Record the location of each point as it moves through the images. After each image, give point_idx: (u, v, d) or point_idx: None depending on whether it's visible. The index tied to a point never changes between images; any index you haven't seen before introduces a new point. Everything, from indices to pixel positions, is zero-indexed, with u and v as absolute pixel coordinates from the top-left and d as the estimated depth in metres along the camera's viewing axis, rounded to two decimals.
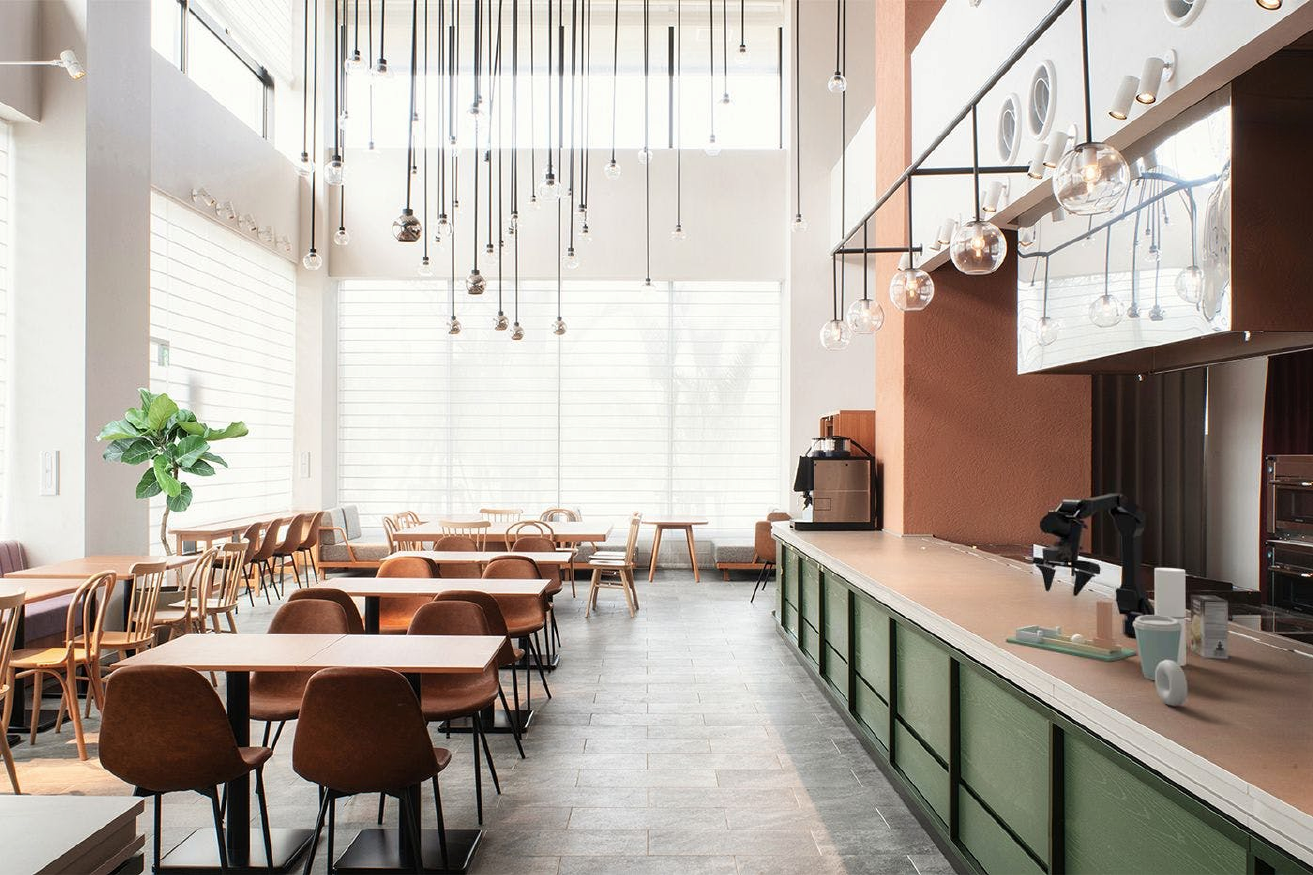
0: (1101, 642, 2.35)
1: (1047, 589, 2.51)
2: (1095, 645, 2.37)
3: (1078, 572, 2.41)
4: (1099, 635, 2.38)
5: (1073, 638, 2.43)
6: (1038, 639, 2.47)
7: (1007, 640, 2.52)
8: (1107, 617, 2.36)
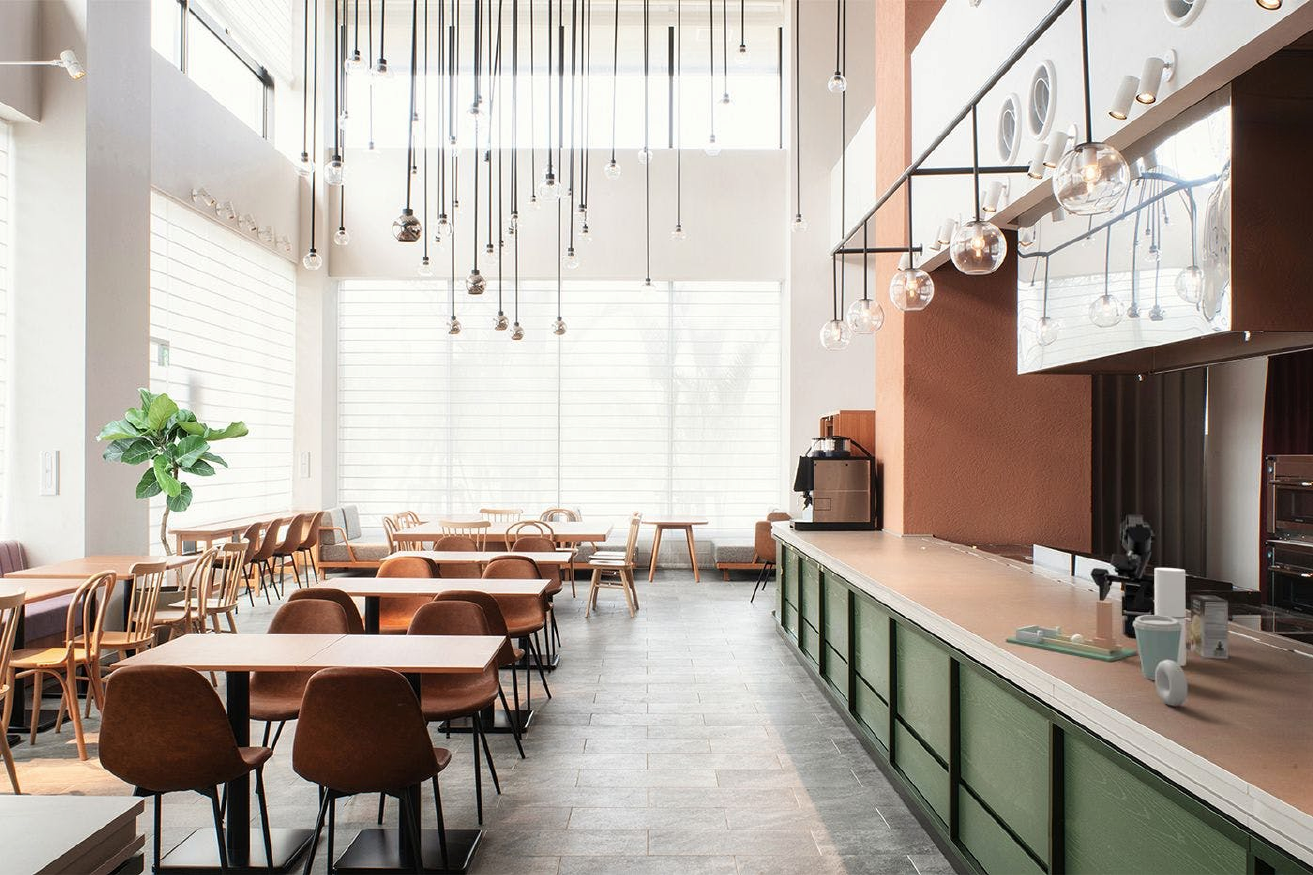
0: (1101, 642, 2.35)
1: (1101, 599, 2.46)
2: (1095, 645, 2.37)
3: (1145, 583, 2.39)
4: (1099, 635, 2.38)
5: (1073, 638, 2.43)
6: (1038, 639, 2.47)
7: (1007, 640, 2.52)
8: (1107, 617, 2.36)
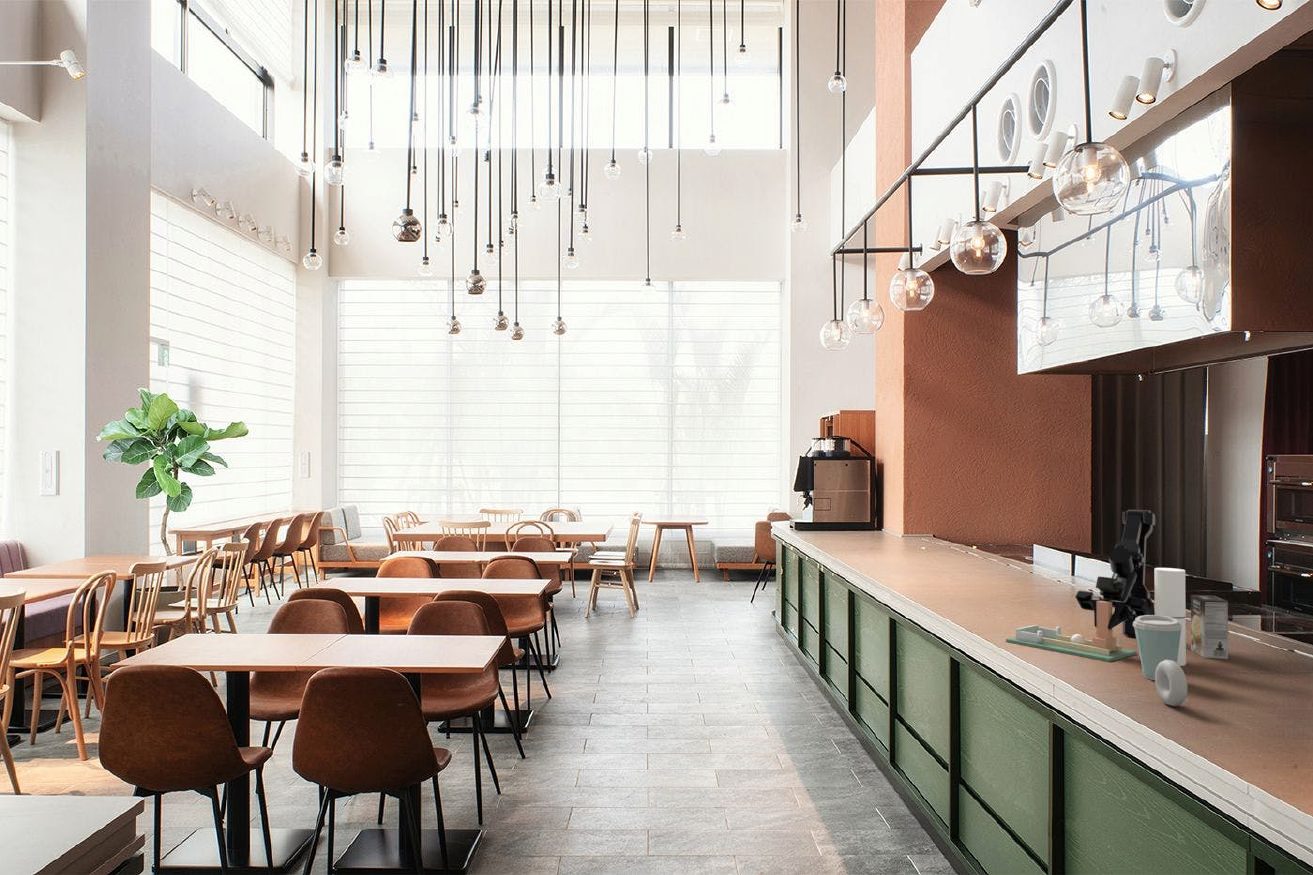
0: (1101, 642, 2.35)
1: (1096, 624, 2.38)
2: (1095, 645, 2.37)
3: (1120, 605, 2.36)
4: (1099, 635, 2.38)
5: (1073, 638, 2.43)
6: (1038, 639, 2.47)
7: (1007, 640, 2.52)
8: (1107, 617, 2.36)
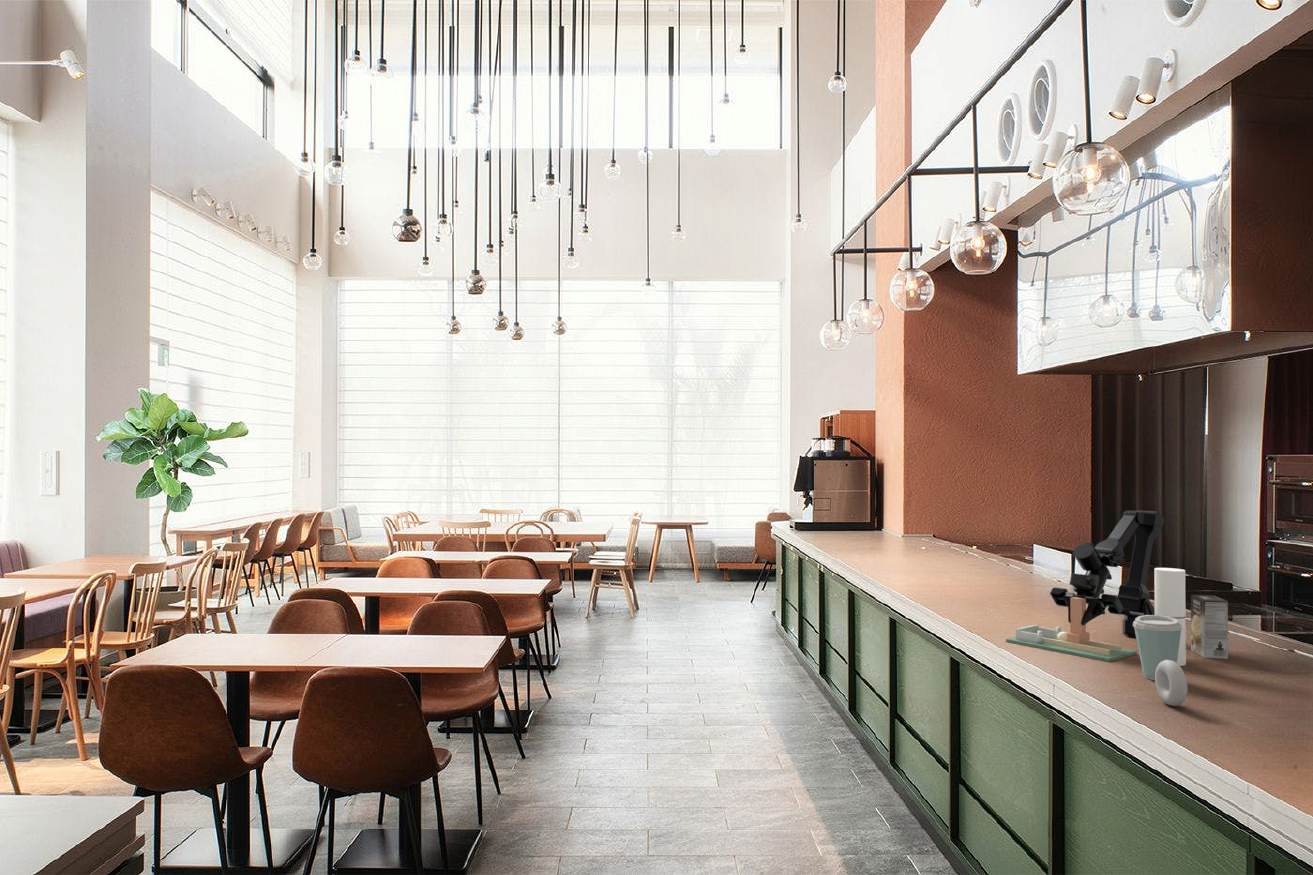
0: (1075, 638, 2.41)
1: (1070, 620, 2.44)
2: (1069, 640, 2.43)
3: (1093, 601, 2.42)
4: (1072, 630, 2.44)
5: None
6: (1038, 639, 2.47)
7: (1007, 640, 2.52)
8: (1080, 613, 2.42)
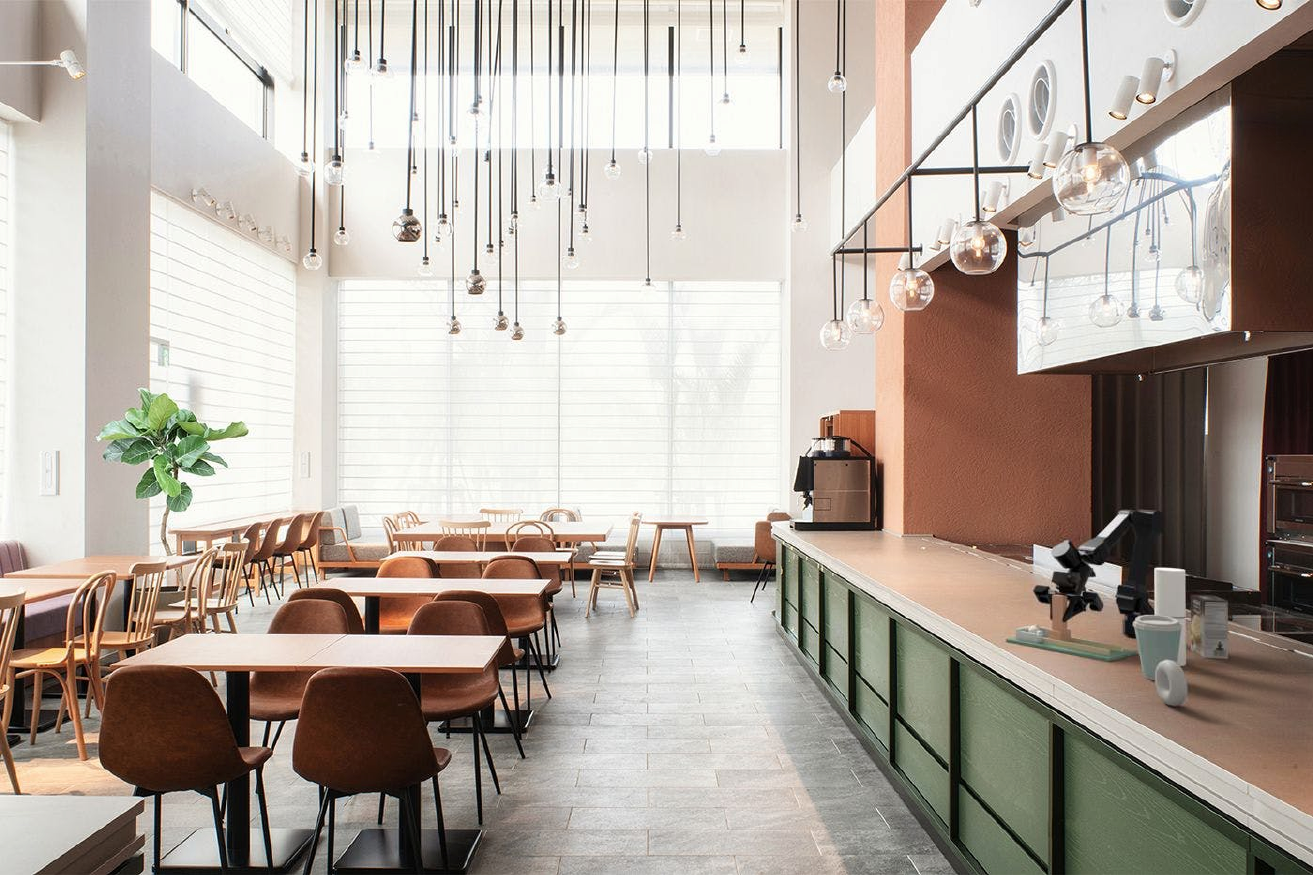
0: (1056, 634, 2.46)
1: None
2: (1050, 637, 2.47)
3: (1074, 598, 2.46)
4: (1054, 627, 2.48)
5: None
6: (1038, 639, 2.47)
7: (1007, 640, 2.52)
8: (1062, 610, 2.46)
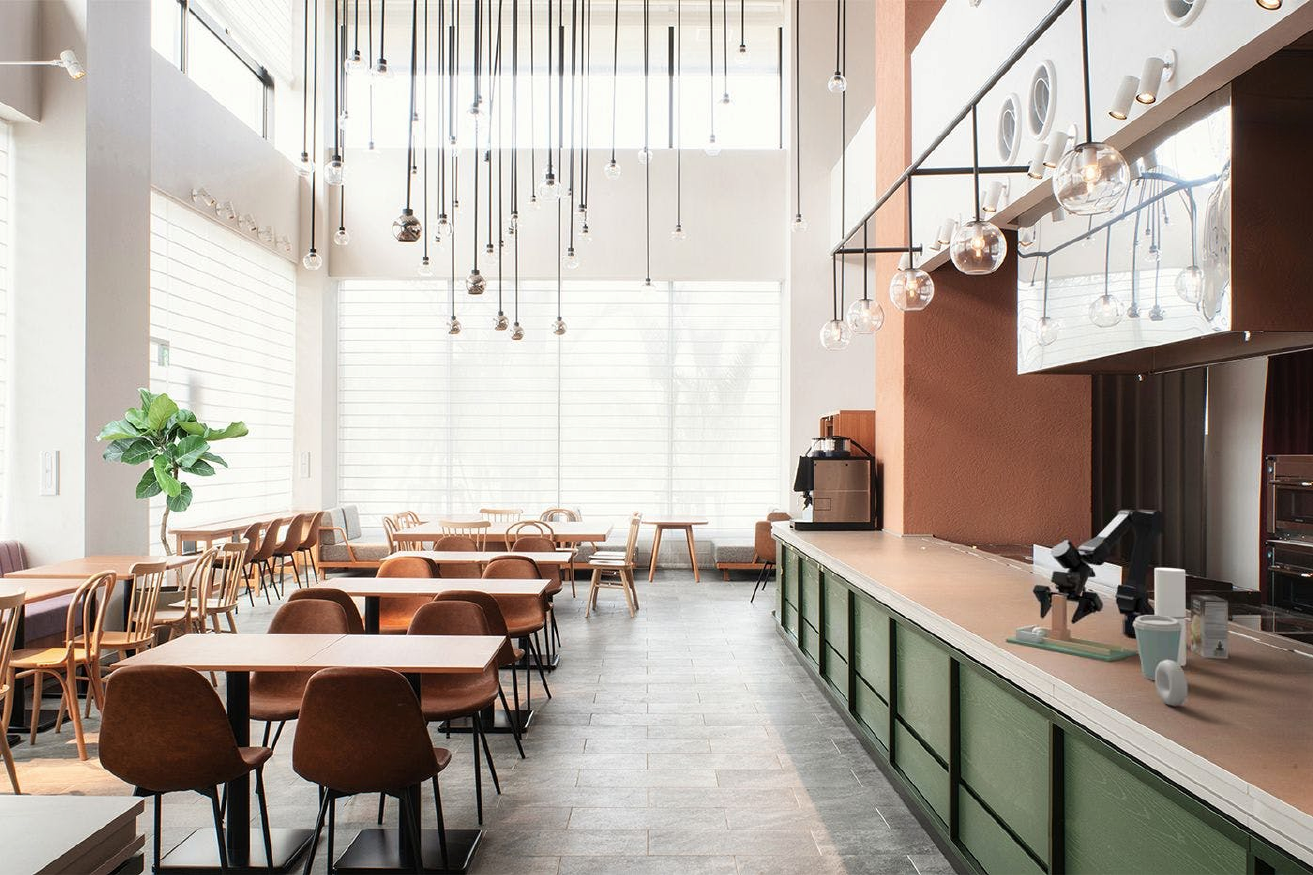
0: (1056, 634, 2.46)
1: (1042, 616, 2.51)
2: (1050, 637, 2.47)
3: (1083, 600, 2.44)
4: (1054, 627, 2.48)
5: (1033, 632, 2.53)
6: (1038, 639, 2.47)
7: (1007, 640, 2.52)
8: (1061, 610, 2.46)
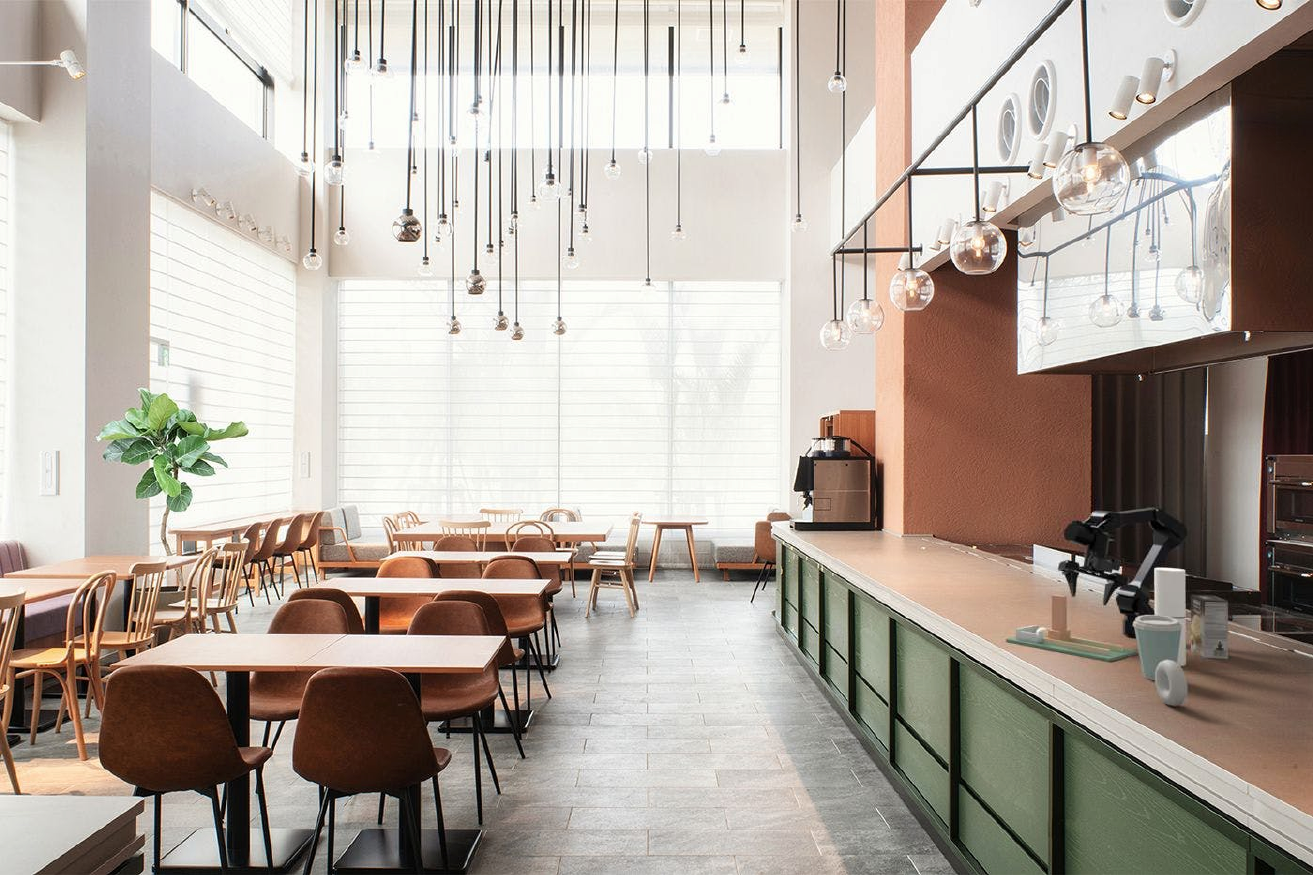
0: (1056, 634, 2.46)
1: None
2: (1050, 637, 2.47)
3: (1118, 584, 2.53)
4: (1054, 627, 2.48)
5: None
6: (1038, 639, 2.47)
7: (1007, 640, 2.52)
8: (1061, 610, 2.46)
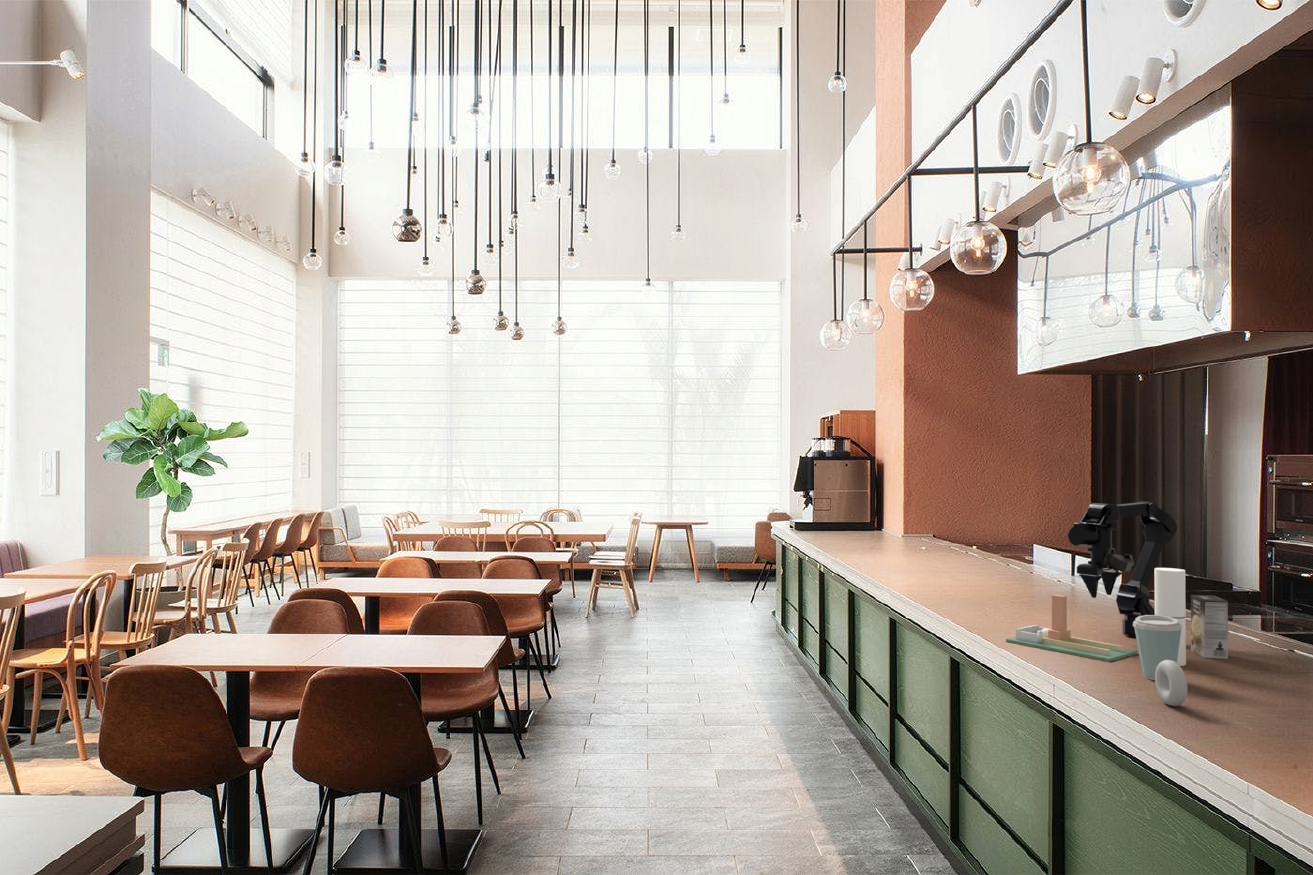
0: (1056, 634, 2.46)
1: None
2: (1050, 637, 2.47)
3: (1120, 574, 2.59)
4: (1054, 627, 2.48)
5: (1044, 632, 2.50)
6: (1038, 639, 2.47)
7: (1007, 640, 2.52)
8: (1061, 610, 2.46)
